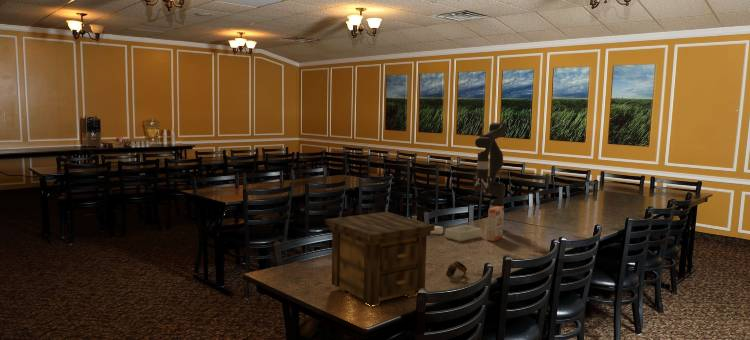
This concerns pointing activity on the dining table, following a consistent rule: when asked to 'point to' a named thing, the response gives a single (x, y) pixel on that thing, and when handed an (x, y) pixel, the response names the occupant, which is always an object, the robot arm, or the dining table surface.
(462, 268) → the brown curved band
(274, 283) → the dining table surface
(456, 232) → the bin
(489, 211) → the cracker box
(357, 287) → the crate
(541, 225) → the dining table surface
